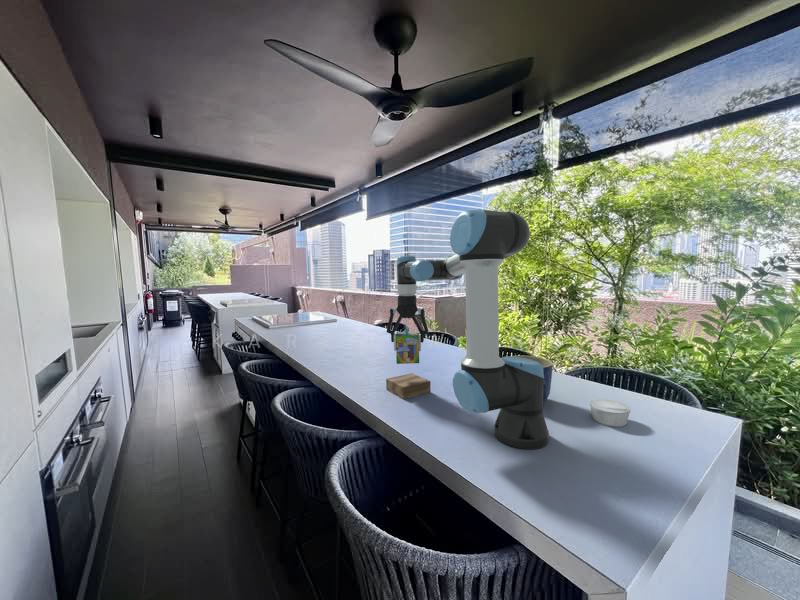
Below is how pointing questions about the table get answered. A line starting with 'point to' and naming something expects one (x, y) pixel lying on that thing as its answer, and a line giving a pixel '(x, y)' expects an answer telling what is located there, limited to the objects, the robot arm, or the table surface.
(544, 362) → the planter
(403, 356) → the chalk box
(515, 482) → the table surface
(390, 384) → the walnut base block
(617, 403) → the ramekin
